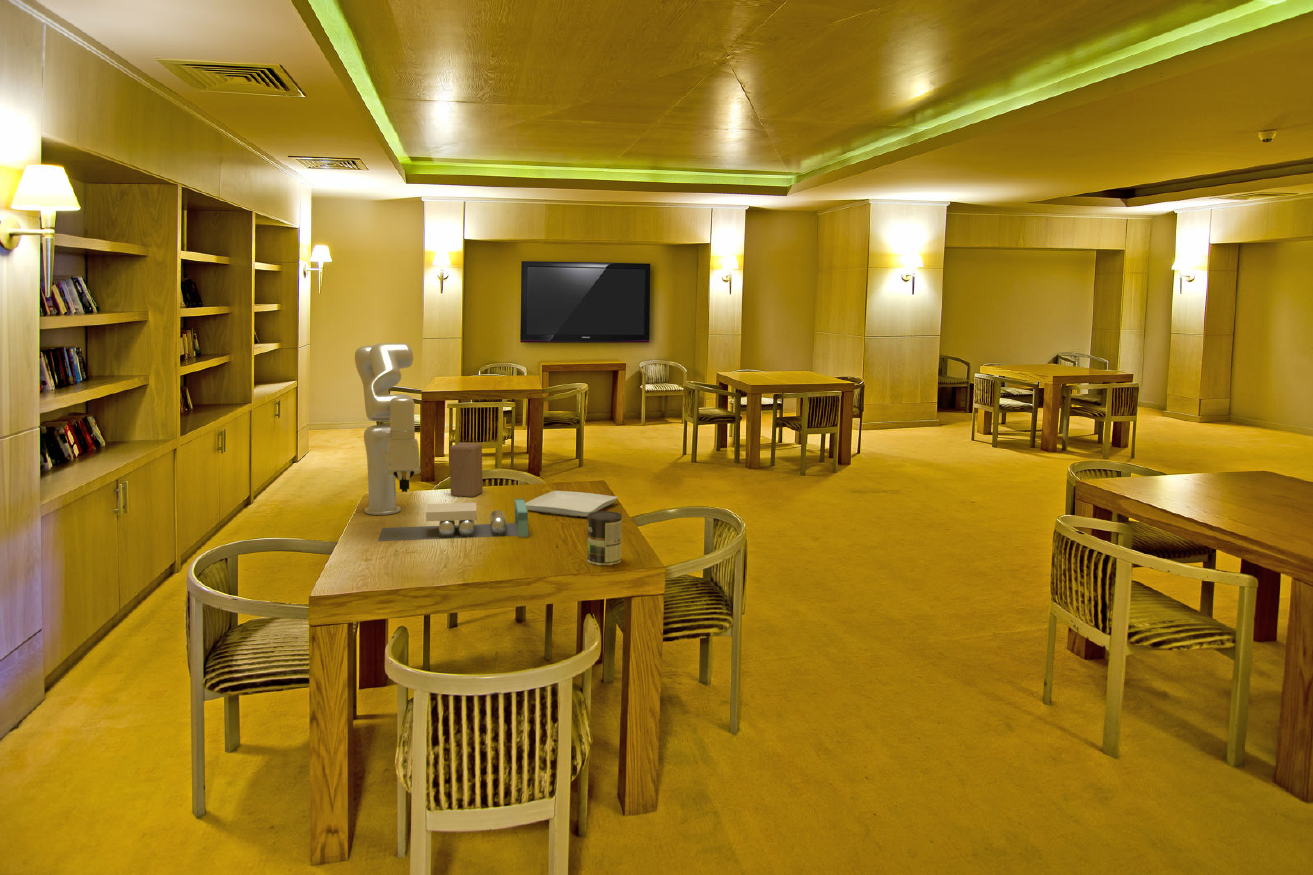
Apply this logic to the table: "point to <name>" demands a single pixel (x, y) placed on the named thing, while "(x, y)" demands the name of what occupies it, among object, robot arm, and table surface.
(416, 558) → the table surface
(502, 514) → the loose roller
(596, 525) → the coffee can
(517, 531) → the runway
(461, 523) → the roller
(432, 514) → the slab
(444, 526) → the roller
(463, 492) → the wooden block
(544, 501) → the square plate
